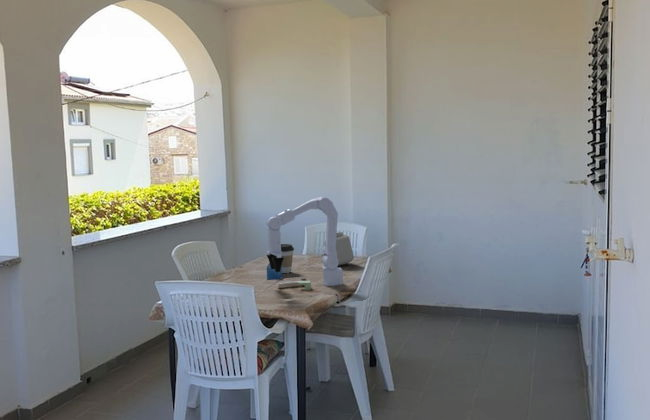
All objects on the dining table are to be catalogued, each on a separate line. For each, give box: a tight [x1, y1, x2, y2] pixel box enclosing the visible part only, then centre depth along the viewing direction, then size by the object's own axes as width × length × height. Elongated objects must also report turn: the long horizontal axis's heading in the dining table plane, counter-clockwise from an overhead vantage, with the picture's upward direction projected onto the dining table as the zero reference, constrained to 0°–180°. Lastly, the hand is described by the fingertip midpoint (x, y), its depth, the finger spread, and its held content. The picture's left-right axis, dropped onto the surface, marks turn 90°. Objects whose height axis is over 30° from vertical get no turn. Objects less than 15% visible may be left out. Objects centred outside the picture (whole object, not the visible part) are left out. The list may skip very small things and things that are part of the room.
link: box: [276, 279, 308, 288], centre depth 291 cm, size 15×4×2 cm, turn 110°
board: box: [271, 277, 321, 296], centre depth 286 cm, size 19×17×5 cm
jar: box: [321, 231, 355, 266], centre depth 349 cm, size 19×15×25 cm
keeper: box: [298, 280, 312, 290], centre depth 286 cm, size 4×6×3 cm
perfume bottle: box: [266, 262, 283, 281], centre depth 317 cm, size 6×6×12 cm
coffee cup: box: [281, 243, 295, 274], centre depth 332 cm, size 11×11×15 cm
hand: (275, 270), depth 289 cm, fingers open, 7 cm apart
